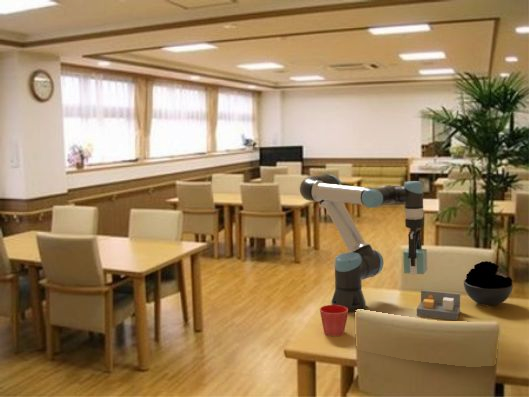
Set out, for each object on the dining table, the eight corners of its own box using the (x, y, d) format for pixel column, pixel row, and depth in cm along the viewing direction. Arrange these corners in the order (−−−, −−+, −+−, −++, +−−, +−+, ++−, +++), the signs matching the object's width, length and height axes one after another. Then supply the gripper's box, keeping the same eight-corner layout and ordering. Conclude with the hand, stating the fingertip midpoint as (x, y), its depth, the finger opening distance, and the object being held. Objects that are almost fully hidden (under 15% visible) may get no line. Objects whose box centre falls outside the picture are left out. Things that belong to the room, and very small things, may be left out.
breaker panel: (416, 315, 229) (416, 297, 228) (421, 307, 239) (421, 289, 238) (456, 320, 222) (457, 301, 221) (459, 311, 232) (460, 293, 231)
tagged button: (422, 312, 231) (422, 301, 230) (424, 309, 234) (424, 298, 234) (432, 313, 229) (432, 302, 228) (434, 310, 233) (434, 299, 232)
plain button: (442, 311, 227) (442, 300, 226) (443, 308, 231) (444, 297, 230) (452, 312, 225) (452, 301, 225) (453, 309, 229) (453, 298, 228)
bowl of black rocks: (503, 297, 249) (504, 257, 246) (519, 312, 229) (520, 269, 227) (458, 297, 251) (458, 257, 248) (470, 312, 231) (471, 269, 229)
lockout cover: (404, 273, 230) (403, 252, 229) (408, 268, 237) (407, 248, 236) (423, 274, 226) (423, 252, 225) (427, 269, 233) (426, 249, 232)
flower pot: (329, 325, 220) (329, 302, 219) (353, 331, 213) (353, 307, 212) (314, 333, 212) (314, 309, 211) (339, 340, 205) (338, 315, 204)
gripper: (418, 221, 218) (419, 277, 220) (428, 214, 236) (429, 265, 239) (399, 221, 221) (401, 276, 224) (410, 214, 240) (412, 265, 242)
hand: (415, 270), depth 231 cm, fingers closed on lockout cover, 8 cm apart
